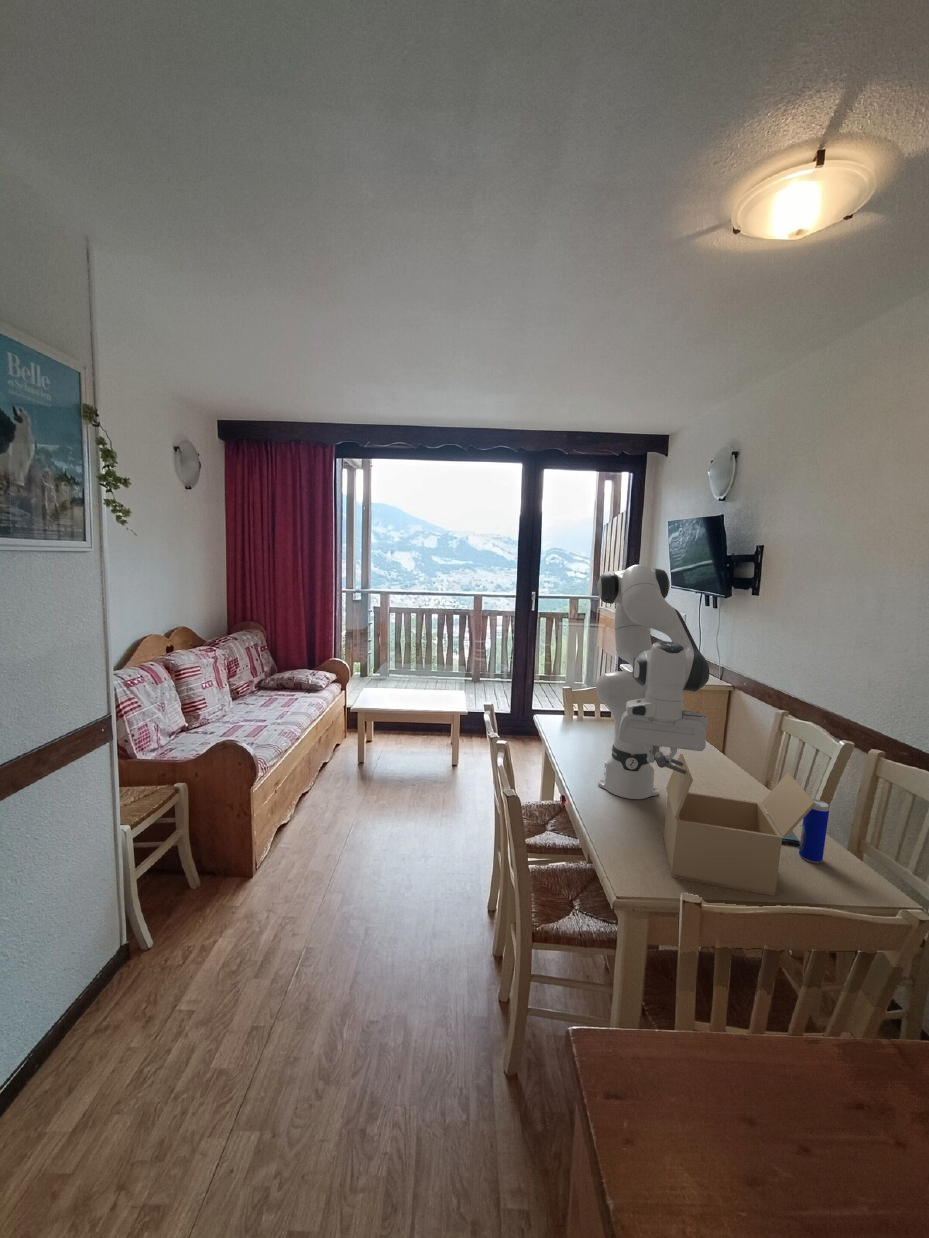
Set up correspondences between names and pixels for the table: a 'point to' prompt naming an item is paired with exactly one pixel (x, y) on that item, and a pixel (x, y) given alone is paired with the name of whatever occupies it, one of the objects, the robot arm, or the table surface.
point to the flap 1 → (676, 781)
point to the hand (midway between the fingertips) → (658, 762)
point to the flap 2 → (787, 804)
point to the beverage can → (814, 832)
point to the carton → (723, 843)
